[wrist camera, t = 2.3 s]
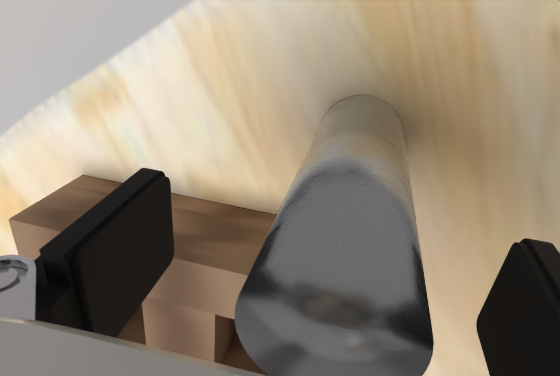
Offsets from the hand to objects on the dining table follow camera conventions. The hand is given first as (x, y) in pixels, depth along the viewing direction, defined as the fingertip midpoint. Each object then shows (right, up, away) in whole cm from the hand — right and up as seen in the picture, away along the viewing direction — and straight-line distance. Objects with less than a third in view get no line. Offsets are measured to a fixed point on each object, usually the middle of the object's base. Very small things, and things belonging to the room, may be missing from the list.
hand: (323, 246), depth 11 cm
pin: (+3, +4, +10) cm, 11 cm away
